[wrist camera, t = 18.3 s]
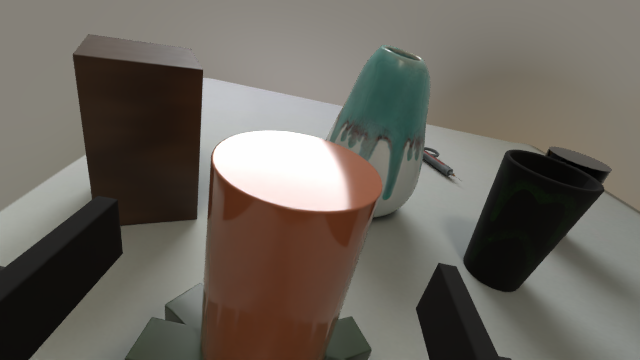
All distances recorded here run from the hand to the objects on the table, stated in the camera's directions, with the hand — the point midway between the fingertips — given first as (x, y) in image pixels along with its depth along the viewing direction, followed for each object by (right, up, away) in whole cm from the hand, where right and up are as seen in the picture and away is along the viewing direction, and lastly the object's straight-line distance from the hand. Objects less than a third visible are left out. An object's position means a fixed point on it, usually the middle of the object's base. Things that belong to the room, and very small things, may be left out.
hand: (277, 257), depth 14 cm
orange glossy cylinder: (-1, -6, +5) cm, 8 cm away
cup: (+19, -6, +20) cm, 29 cm away
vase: (+6, 0, +27) cm, 28 cm away
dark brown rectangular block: (-15, +1, +19) cm, 24 cm away
